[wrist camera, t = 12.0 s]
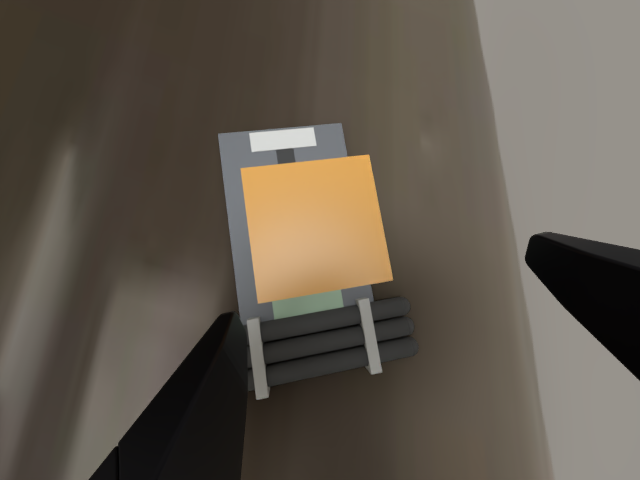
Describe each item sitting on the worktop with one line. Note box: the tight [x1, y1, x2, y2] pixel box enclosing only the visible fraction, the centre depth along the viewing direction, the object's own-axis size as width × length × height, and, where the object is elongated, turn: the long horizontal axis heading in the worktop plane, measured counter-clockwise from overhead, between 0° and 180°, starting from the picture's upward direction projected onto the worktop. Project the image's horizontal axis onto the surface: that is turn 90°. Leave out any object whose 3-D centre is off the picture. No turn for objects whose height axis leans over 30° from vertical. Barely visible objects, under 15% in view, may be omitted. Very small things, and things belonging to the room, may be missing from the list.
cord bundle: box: [243, 297, 418, 400], centre depth 19 cm, size 15×5×2 cm, turn 99°
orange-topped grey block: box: [240, 155, 393, 304], centre depth 14 cm, size 4×4×12 cm
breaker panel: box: [218, 123, 374, 325], centre depth 21 cm, size 15×10×1 cm, turn 9°
